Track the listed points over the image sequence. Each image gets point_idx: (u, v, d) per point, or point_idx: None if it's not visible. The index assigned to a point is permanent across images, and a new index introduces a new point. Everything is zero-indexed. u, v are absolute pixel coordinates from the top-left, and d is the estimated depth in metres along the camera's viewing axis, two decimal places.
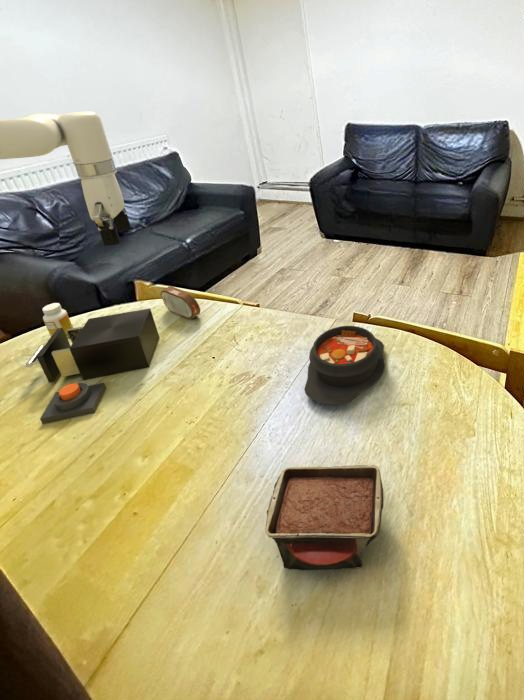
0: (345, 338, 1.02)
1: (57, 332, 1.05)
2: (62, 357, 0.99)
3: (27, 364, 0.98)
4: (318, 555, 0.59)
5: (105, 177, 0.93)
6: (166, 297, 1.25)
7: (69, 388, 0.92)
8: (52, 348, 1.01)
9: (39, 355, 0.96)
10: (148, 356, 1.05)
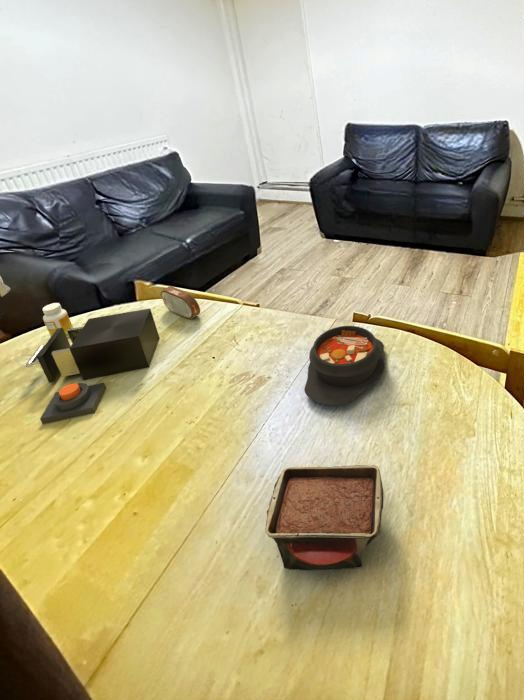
0: (345, 338, 1.02)
1: (57, 332, 1.05)
2: (62, 357, 0.99)
3: (27, 364, 0.98)
4: (318, 555, 0.59)
5: None
6: (166, 297, 1.25)
7: (69, 388, 0.92)
8: (52, 348, 1.01)
9: (39, 355, 0.96)
10: (148, 356, 1.05)
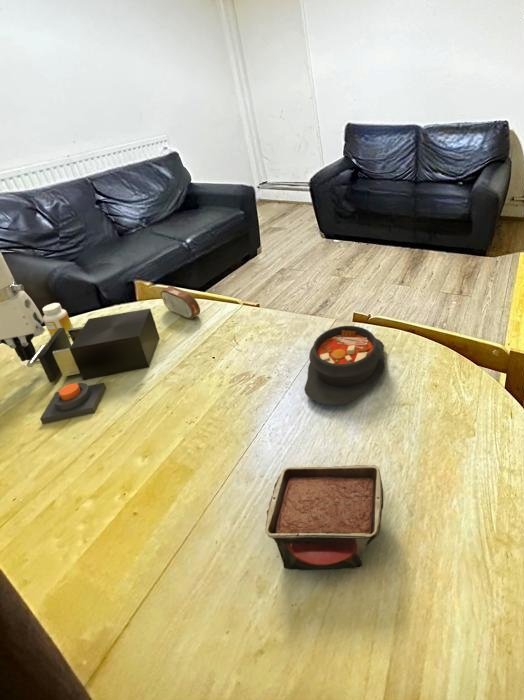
0: (345, 338, 1.02)
1: (58, 332, 1.05)
2: (63, 357, 0.99)
3: (28, 364, 0.98)
4: (318, 555, 0.59)
5: None
6: (166, 297, 1.25)
7: (69, 388, 0.92)
8: (53, 347, 1.01)
9: (40, 355, 0.96)
10: (148, 356, 1.05)
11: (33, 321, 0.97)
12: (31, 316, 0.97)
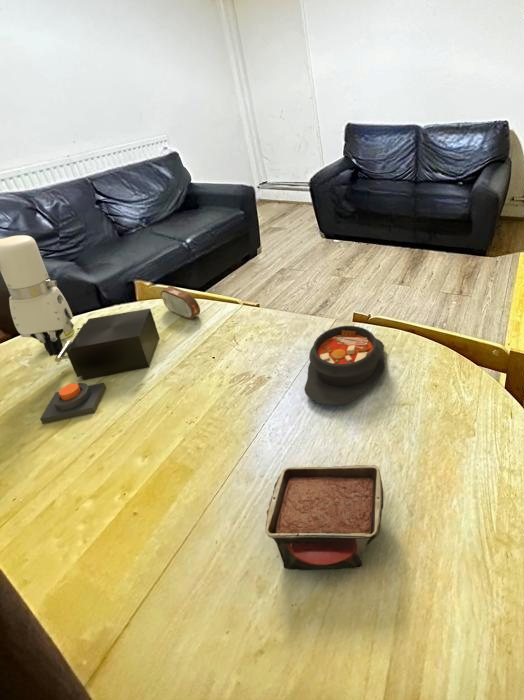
0: (345, 338, 1.02)
1: None
2: None
3: (56, 359, 1.00)
4: (318, 555, 0.59)
5: (14, 300, 0.93)
6: (166, 297, 1.25)
7: (69, 388, 0.92)
8: None
9: (68, 350, 0.98)
10: (148, 356, 1.05)
11: (64, 317, 0.99)
12: (62, 312, 0.98)
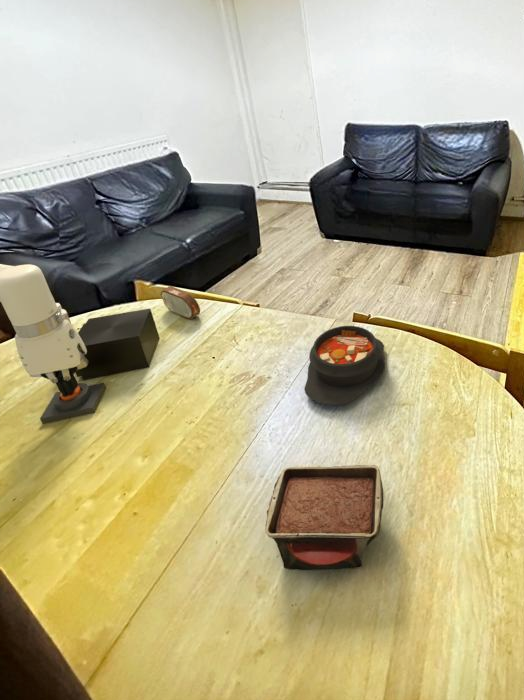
0: (345, 338, 1.02)
1: None
2: None
3: None
4: (318, 555, 0.59)
5: (20, 339, 0.82)
6: (166, 297, 1.25)
7: None
8: None
9: None
10: (148, 356, 1.05)
11: (77, 353, 0.88)
12: (75, 348, 0.87)
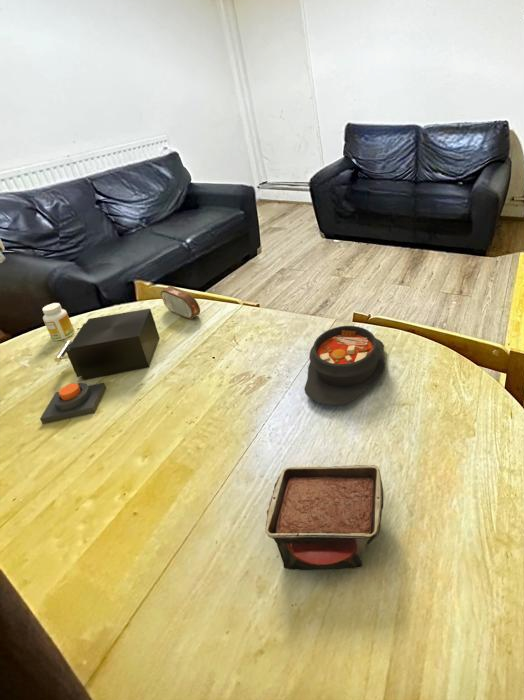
0: (345, 338, 1.02)
1: None
2: None
3: (56, 359, 1.00)
4: (318, 555, 0.59)
5: None
6: (166, 297, 1.25)
7: (69, 388, 0.92)
8: None
9: (68, 350, 0.98)
10: (148, 356, 1.05)
11: None
12: None
